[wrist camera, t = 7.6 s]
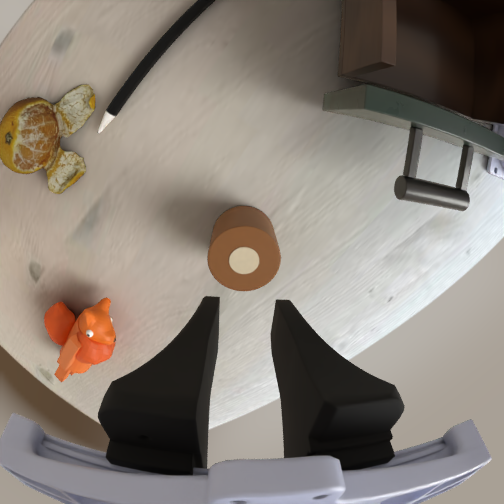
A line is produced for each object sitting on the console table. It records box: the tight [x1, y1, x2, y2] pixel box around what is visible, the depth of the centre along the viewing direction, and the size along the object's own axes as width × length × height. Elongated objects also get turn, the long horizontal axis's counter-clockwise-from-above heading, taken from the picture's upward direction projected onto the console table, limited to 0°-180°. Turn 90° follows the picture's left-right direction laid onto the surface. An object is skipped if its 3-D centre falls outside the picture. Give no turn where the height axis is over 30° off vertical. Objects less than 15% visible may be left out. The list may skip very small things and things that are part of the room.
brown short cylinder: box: [208, 206, 281, 291], centre depth 20 cm, size 4×4×4 cm
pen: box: [98, 0, 215, 134], centre depth 14 cm, size 1×19×1 cm, turn 140°
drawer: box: [323, 0, 504, 211], centre depth 13 cm, size 17×13×7 cm
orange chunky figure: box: [44, 297, 116, 382], centre depth 23 cm, size 5×8×12 cm
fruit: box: [0, 85, 95, 194], centre depth 15 cm, size 8×8×4 cm
